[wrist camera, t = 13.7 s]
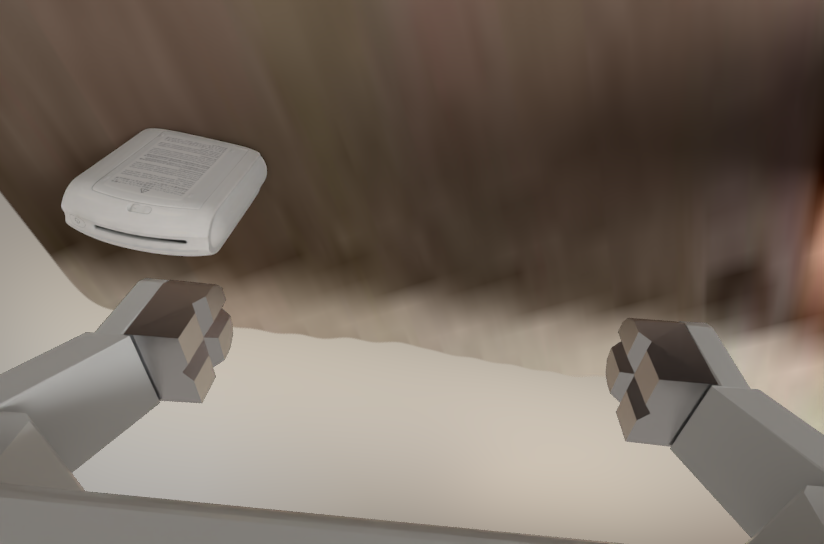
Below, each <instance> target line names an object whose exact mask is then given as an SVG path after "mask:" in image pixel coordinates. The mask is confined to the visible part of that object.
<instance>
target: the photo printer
mask: <svg viewBox="0 0 824 544" xmlns="http://www.w3.org/2000/svg"><path fill="white" fill-rule="evenodd" d="M266 176H267V167H266V164H265V161H264V159H263V158H262V157H261V156H260V153H259V152H257V151H255V150H252V149H250V148H247V147H243V146H240V145H235V144H231V143H227V142H223V141H219V140H214V139H210V138H205V137H201V136H196V135H191V134H187V133H182V132H177V131H172V130H166V129H158V128H148V129H145V130H143V131H141V132H140V133H139V134H137V135H136V136H134V137H133V138H132V139H130V140H129V141H127V142H126V143H124V144H123V145H122V146H120V147H119V148H117V149H116V150H115V151H113V152H112V153H110V154H109V155H107V156H106V157H105V158H103V159H102V160H100V161H99V162H97V163H96V164H94V165H93V166H92V167H90V168H89V169H87V170H86V171H84V172H83V173H82V174H80V175H79V176H77V177H76V178H75V179H73V180H72V181H71V183H70V184H69V186H68V187H67V189H66V191H65V193H64V196H63V199H62V203H61V208H62V210H63V211H64V213H65V221H66V223H67V224H68V225H69V226H71V227H72V228H74V229H76V230H78V231H79V232H81V233H83V234H85V235H88V236H90V237H93V238H95V239H98V240H100V241H103V242H106V243H110V244H113V245H117V246H121V247H124V248H129V249H133V250H138V251H144V252H149V253H157V254H164V255H175V256H206V255H213V254H215V253H217V252H218V251H219V250H220V248H221V247H222V246H223V244H224V243H225V241H226V240H227V238H228V237H229V236H230V234H231V233H232V231H233V230H234V228H235V227H236V225H237V224H238V222H239V221H240V220H241V218H242V217H243V215H244V214H245V212H246V211H247V209H248V208H249V206H250V205H251V203H252V202H253V200H254V199H255V197H256V196H257V194H258V193H259V190H260V187H261V186H262V184H263V183H264V181H265V179H266Z"/></svg>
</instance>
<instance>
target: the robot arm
mask: <svg viewBox="0 0 824 544" xmlns="http://www.w3.org/2000/svg"><path fill="white" fill-rule="evenodd" d="M225 301H226V298H225V295H224V292H223V288H222V287H220V286H218V285H215V284H206V283H196V282H187V281H177V280H163V279H153V278H145V279H142V280H140V281H139V282H138V283H137V284H136V285H135V286H134V287H133V288H132V290H131V291H130V292H129V293H128V294H127V295H126V297H125V298H124V299H123V300H122V301H121V302H120V304H119V305H118V306H117V307H116V308H115V309H114V310H113V312H112V313H111V314H110V315H109V316H108V317H107V319H106V320H105V321H104V322H103V323H102V324H101V325H100V327H99V328H98V329H97V330H96V331H95V332H94V333H91V332H86V333H84V334H82V335H80V336H78V337H76V338H73V339H71V340H69V341H68V342H65V343H63V344H61V345H59V346H57V347H55V348H53V349H51V350H49V351H47V352H45V353H43V354H41V355H39V356H37V357H35V358H33V359H31V360H29V361H27V362H25V363H23V364H21V365H19V366H17V367H15V368H12V369H10V370H8V371H6V372H4V373H2V374H0V544H622V543H612V542H601V541H592V540H581V539H571V538H560V537H551V536H540V535H530V534H520V533H510V532H499V531H488V530H479V529H469V528H457V527H448V526H438V525H427V524H417V523H407V522H395V521H386V520H375V519H365V518H355V517H344V516H334V515H324V514H313V513H303V512H293V511H282V510H272V509H261V508H251V507H241V506H231V505H221V504H210V503H200V502H190V501H179V500H169V499H159V498H149V497H138V496H129V495H118V494H108V493H98V492H87V491H85V490H84V489H83V487H82V486H81V485H80V483H79V482H78V481H77V479H76V478H75V477H74V476H73V474H72V472H73V471H75V470H76V469H77V468H78V467H80V466H81V465H82V464H83V463H85V462H86V461H87V460H88V459H90V458H91V457H92V456H94V455H95V454H96V453H97V452H99V451H100V450H101V449H102V448H104V447H105V446H106V445H107V444H109V443H110V442H111V441H112V440H114V439H115V438H116V437H117V436H119V435H120V434H121V433H123V432H124V431H125V430H126V429H128V428H129V427H130V426H131V425H133V424H134V423H135V422H136V421H138V420H139V419H140V418H141V417H143V416H144V415H145V414H147V413H148V412H149V411H150V410H152V409H153V408H154V407H155V406H157V405H158V404H159V403H160V401H175V402H191V403H192V402H193V403H202V402H203V400H204V399H205V397H206V395H207V393H208V391H209V389H210V387H211V385H212V383H213V381H214V379H215V377H216V375H215V372H214V369H213V367H214V366H216V365H217V364H219V363H221V362H222V361H223V360H225V358H226V356H227V354H228V352H229V350H230V346H231V342H232V337H233V325H232V321H231V316H230V315H229V314H228V313H227V312H225V311H224V310H223V309H222V306H223V305H224V303H225ZM618 333H619V336H620V339H621V342H619V343H618V344H616V345H615V346H613V347H612V348H611V350H610V353H609V355H608V358H607V364H606V379H607V385H608V388H609V391H610V394H612V395H613V396H614V397H615V398H616V399H617V400H618V401H619V402H620V405H619V407H618V409H617V411H616V414H617V417H618V420H619V423H620V426H621V429H622V432H623V435H624V438H625V441H627V442H636V443H644V444H653V445H662V446H670V447H671V448H670V449H671V450H672V451H673V453H674V454H675V455H676V456H677V457H678V458H679V459H680V460H681V461H682V462H683V464H684V465H685V466H686V467H687V468H688V469H689V470H690V471H691V472H692V473H693V475H694V476H695V477H696V478H697V479H698V480H699V481H700V482H701V483H702V484H703V485H704V487H705V488H706V489H707V490H708V491H709V492H710V493H711V494H712V495H713V497H714V498H715V499H716V500H717V501H718V502H719V503H720V504H721V505H722V506H723V508H724V509H725V510H726V511H727V512H728V513H729V514H730V515H731V516H732V517H733V519H734V520H735V521H736V522H737V523H738V524H739V525H740V526H741V527H742V528H743V530H744V531H745V532H746V533H747V534H748V535H749V536H750V537H751V539H750V540H748V542H746V543H745V544H824V435H823V434H822V433H820V432H819V431H817V430H816V429H814V428H813V427H812V426H810V425H809V424H807V423H806V422H804V421H803V420H802V419H800V418H799V417H797V416H796V415H795V414H793V413H792V412H790V411H789V410H787V409H786V408H785V407H783V406H782V405H780V404H779V403H777V402H776V401H775V400H773V399H772V398H770V397H769V396H768V395H766V394H765V393H763V392H762V391H760V390H758V389H750V387H749V385H748V384H747V382H746V381H745V379H744V377H743V376H742V374H741V373H740V371H739V369H738V368H737V366H736V364H735V363H734V361H733V360H732V358H731V356H730V355H729V353H728V352H727V350H726V348H725V347H724V345H723V343H722V342H721V340H720V339H719V337H718V335H717V334H716V332H715V330H714V329H713V328H712V327H711V326H710V325H709V324H707V323H698V322H682V321H680V322H676V321H662V320H649V319H635V318H627V319H626V320H625V321H624V322H623V323H622V325H621V327H620V329H619V331H618Z"/></svg>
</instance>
